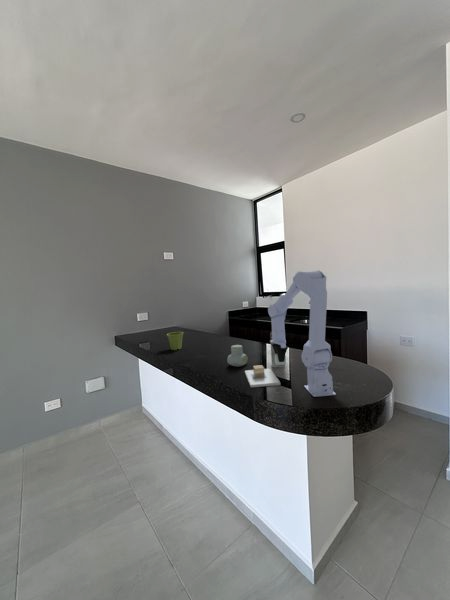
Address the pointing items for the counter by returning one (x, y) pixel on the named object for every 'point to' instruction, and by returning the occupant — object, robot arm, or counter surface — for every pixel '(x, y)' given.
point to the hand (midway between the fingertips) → (280, 360)
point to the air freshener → (237, 356)
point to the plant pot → (175, 340)
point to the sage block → (278, 360)
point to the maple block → (258, 371)
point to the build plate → (262, 379)
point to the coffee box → (273, 354)
